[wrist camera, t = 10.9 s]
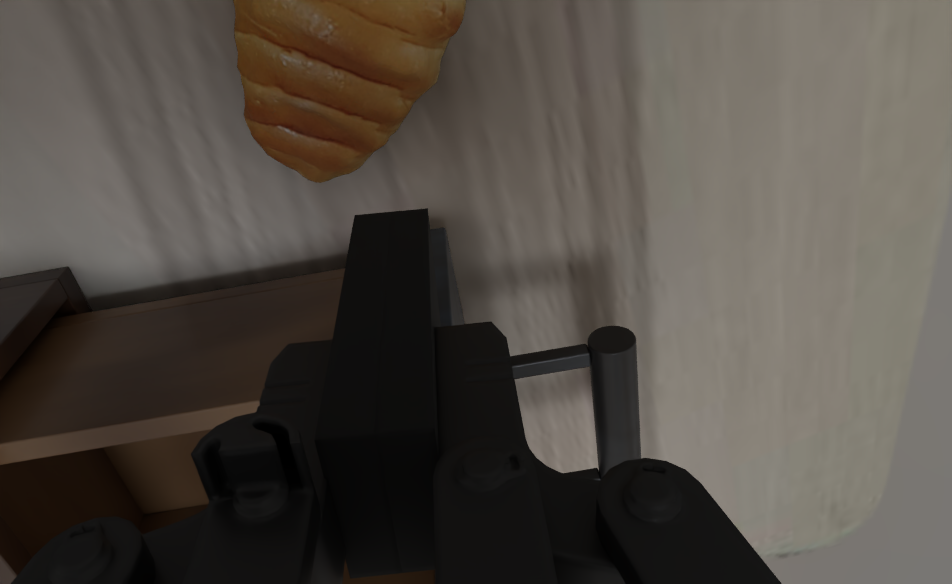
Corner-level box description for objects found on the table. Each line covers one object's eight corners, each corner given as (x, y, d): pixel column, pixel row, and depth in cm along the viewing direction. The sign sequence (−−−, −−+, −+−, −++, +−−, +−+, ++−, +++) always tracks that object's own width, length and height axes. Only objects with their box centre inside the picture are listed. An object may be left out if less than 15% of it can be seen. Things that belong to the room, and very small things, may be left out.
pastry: (389, 189, 26) (384, 234, 23) (208, 123, 24) (175, 161, 21) (490, -68, 22) (501, -59, 19) (279, -170, 20) (251, -179, 17)
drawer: (597, 199, 26) (660, 314, 19) (614, 443, 33) (665, 592, 26) (16, 300, 26) (-121, 447, 20) (149, 520, 33) (80, 686, 26)
